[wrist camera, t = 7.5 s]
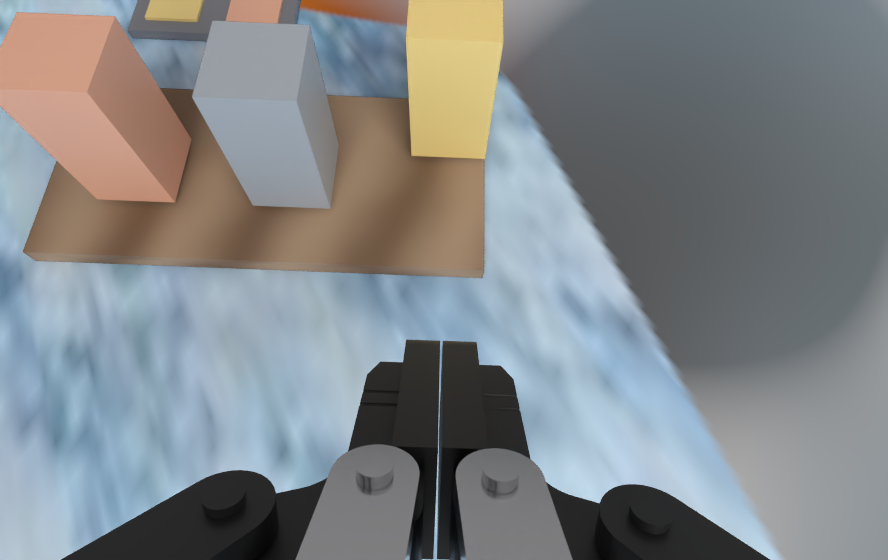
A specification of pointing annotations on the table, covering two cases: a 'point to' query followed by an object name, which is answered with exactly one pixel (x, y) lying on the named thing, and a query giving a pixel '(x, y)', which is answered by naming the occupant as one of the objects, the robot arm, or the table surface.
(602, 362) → the table surface
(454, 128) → the yellow tall block
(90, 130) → the salmon pink block
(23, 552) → the table surface
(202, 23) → the card
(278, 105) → the grey rectangular block
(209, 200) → the keypad base
